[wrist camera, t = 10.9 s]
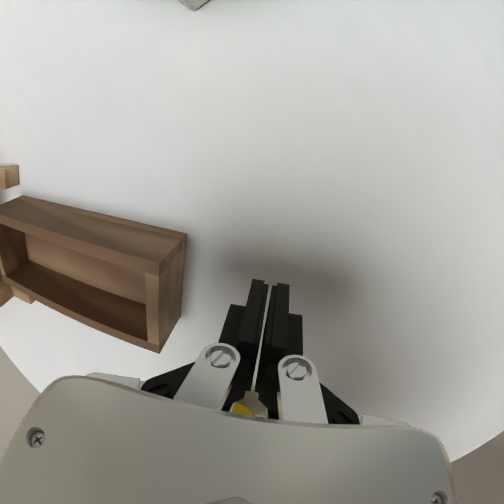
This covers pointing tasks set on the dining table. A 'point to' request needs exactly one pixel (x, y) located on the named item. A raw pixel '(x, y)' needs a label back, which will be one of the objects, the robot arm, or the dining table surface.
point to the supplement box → (193, 3)
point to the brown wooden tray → (95, 268)
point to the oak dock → (3, 291)
